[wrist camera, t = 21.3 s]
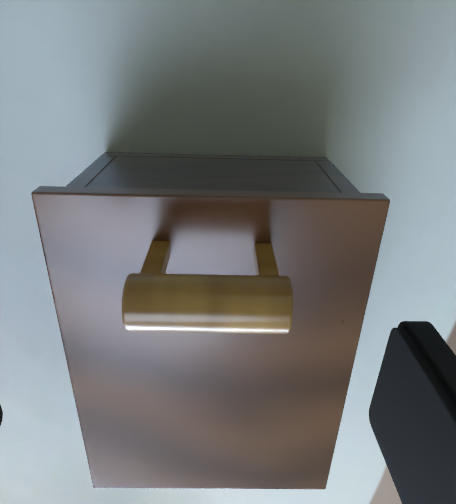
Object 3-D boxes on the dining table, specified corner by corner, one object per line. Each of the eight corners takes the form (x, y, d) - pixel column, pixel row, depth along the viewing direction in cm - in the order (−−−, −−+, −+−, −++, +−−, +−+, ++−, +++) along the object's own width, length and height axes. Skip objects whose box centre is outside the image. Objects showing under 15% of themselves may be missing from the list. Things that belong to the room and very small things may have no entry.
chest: (104, 152, 24) (44, 203, 16) (326, 157, 24) (377, 210, 16) (129, 366, 31) (97, 474, 23) (297, 368, 32) (322, 475, 24)
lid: (39, 185, 15) (-46, 249, 10) (383, 192, 16) (454, 258, 11) (97, 475, 23) (64, 585, 19) (322, 476, 24) (347, 586, 19)
